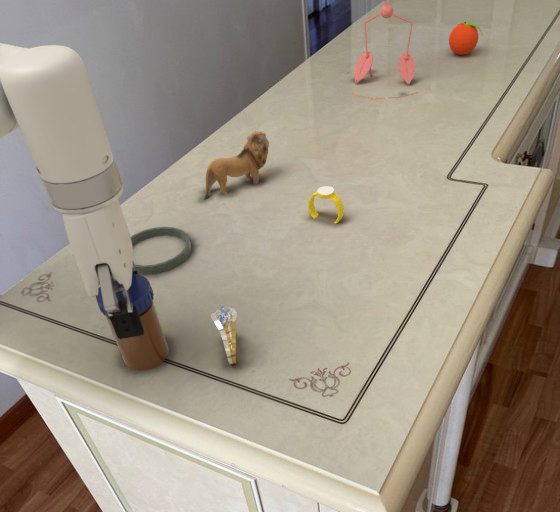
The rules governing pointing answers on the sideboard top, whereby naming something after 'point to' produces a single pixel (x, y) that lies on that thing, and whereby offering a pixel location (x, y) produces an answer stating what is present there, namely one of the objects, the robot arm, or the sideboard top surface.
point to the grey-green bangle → (169, 263)
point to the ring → (227, 330)
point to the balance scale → (365, 61)
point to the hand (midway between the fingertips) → (132, 315)
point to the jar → (144, 343)
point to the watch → (326, 193)
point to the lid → (133, 294)
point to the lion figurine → (239, 163)
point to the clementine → (463, 38)
